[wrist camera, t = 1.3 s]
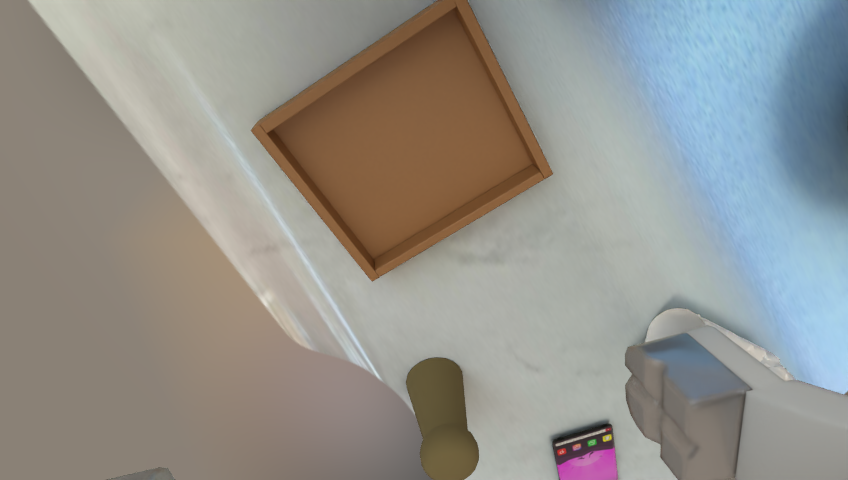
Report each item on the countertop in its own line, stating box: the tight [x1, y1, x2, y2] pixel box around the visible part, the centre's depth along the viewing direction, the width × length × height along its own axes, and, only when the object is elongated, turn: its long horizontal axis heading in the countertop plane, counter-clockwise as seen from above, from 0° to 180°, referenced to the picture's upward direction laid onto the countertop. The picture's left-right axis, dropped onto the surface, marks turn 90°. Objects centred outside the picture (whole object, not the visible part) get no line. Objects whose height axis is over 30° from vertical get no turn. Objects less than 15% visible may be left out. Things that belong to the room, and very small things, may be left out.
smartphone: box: [552, 424, 618, 480], centre depth 60 cm, size 7×15×1 cm, turn 15°
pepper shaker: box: [406, 358, 479, 480], centre depth 46 cm, size 6×6×11 cm
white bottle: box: [645, 308, 795, 381], centre depth 51 cm, size 8×19×8 cm, turn 60°
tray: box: [251, 0, 553, 281], centre depth 38 cm, size 18×16×3 cm
